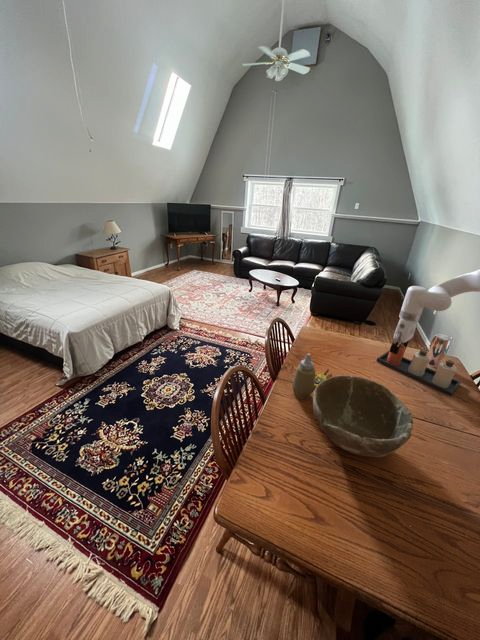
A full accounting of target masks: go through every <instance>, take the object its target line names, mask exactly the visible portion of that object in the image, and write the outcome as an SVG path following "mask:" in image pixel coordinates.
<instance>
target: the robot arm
mask: <svg viewBox="0 0 480 640" xmlns="http://www.w3.org/2000/svg"><path fill="white" fill-rule="evenodd" d="M470 292H477V293H478V292H479V293H480V268H479V269H477V270H474V271H471V272H467V273H464V274H461V275H457V276H453V277H451V278H449V279H446V280H444V281H442V282H439V283H438V284H435V285H433V286H432V287H430V288H429V289H428V288H426V287H423V286H420V285H411V286H409V287H408V288H407V290H406V293H405V296H404V299H403V302H402V306H401V309H400V312H399V315H398V317H399V320H398V323H397V326H396V328H395V331H394V334H393V338H392V341H391V344H390V348H389V351H390V352H391V353H394V354H398V351H399V348H400V346H399V345H400V344H401V342H403V345H404V346H405V347H406V348H408V345H409V342H410V340H411V339H413V337H414V335H415V332H416V328H417V325H418V322H420V319H421V316H422V314H423V311H424V308H426V309H429V310H432V311H434V312H435V311H436V312H445V311H447V310H448V309H450V308H451V306H452V298H453V297H456V296H458V295H462V294H465V293H470ZM397 341H399V343H398V342H397Z"/></svg>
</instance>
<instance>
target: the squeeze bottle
mask: <svg viewBox="0 0 480 640" xmlns="http://www.w3.org/2000/svg"><path fill="white" fill-rule="evenodd" d="M314 366H315V363H314V362H313V361H312V355H311V353H307V354H306V356H305V357H304V359H302V360H301V361H300V364H298V365H297V366H296V370H295V374H294V378H293V381H292V383H291V384H292V386H291V387H292V390H293V394H294V396H296V397H297V398H298V399H301V400H306V399H307V400H308V399H309V398H310V396H311V395H312V393H314V391H315V388H314V383H315V376H316V368H315V367H314Z"/></svg>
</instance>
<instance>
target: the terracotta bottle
mask: <svg viewBox="0 0 480 640" xmlns="http://www.w3.org/2000/svg"><path fill="white" fill-rule="evenodd" d="M397 342H398V343H399V341H397ZM399 346H400V348H399V351H398V354H394V353H391V352H390V350H388V351H389V354H388V357H387V362H388V363H390V364H392V365H395V366H399V365H400V364H401V361H402V358H403V357H404V356H405V354H406V350H407V347H405V346H404V345H403V342H401V344H400V345H399Z"/></svg>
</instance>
